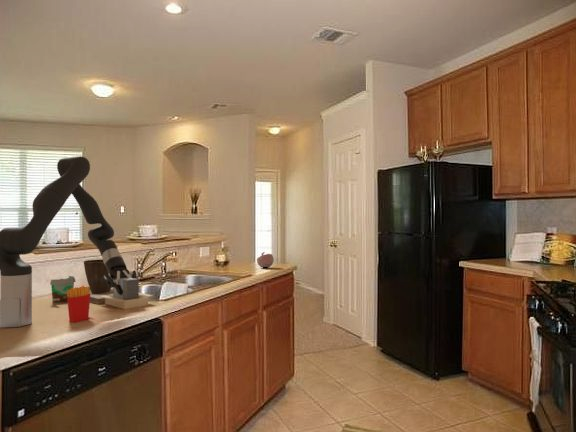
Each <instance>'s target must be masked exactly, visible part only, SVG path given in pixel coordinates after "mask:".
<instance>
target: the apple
mask: <svg viewBox="0 0 576 432" xmlns="http://www.w3.org/2000/svg"><path fill="white" fill-rule="evenodd" d="M274 258H275V257H274V255H273V254H272V253H265V251H263V252H261V255H259V256H258V257H257V258H256V263H257V265H258V266H259V267H260V268H262V267H269V268H270V267H272V266H273V264H274V262H275V261H274V260H275V259H274Z"/></svg>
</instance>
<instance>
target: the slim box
mask: <svg viewBox="0 0 576 432" xmlns="http://www.w3.org/2000/svg"><path fill="white" fill-rule="evenodd" d="M113 281H114V279H113ZM118 281H119V285H120V286H121V288H122V290H123V294H122V295H119V294H118V293H117V290H116V288H114V287H112V288H113V289H112V290H113V291H112V292H113V297H114V298H118V299H122V300H131V299H138V298H139V293H140V292H139V290H140V289H139V287H140V285H139V278H137V279H136V278H120V279H118Z"/></svg>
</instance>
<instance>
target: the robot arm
mask: <svg viewBox="0 0 576 432" xmlns="http://www.w3.org/2000/svg"><path fill="white" fill-rule="evenodd" d="M56 166H57V172H58V174H59V178H56V179H55V180H53V181H52V182H50V183H48V184H47V185H46V186H44V187H43V188H42V189H41V190H40V191H39V192H38V194H37V195H36V197H34V199H33V201H32V213H33V215H32V218H31V220H29V222H27V224H26V225H25V226H23V227H4V228H3V229H1V230H0V328H20V327H22V326H23V327H24V326H27V325H30V324H32V323H33V267H32V265H31V264H30V263H27V262H25V261H24V260H23V259H21V255H29V254H30V253H33V252H34V250H36V248H37V246H38V245H39V243H40V242H41V240H42V239H43V236H44V234H45V233H46V231H47V229H48V227H49V226H50V224H52V221H53V220H54V218H56V215H57V214H58V213H59V212H60V210H61V209H62V208H63V206H64V205H65V203H66V202H67V200H68V199H69V197H70V196H71V195H72V196H73V198H74V199H75V200H76V203H77V204H78V206H79V208H80V210H81V212H82V215H83V217H84V219H85V221H86V224H88V225H96V224H98V226H96V227H92V228H90V229H89V230H88V232H87V237H88V239H89V241H91V243H92V244H93V245H94V246H95V247H96V248H97V249H98V251H99V253H100V255H101V258H102V259H103V262H104V264H105V266H106V269H107V271H108V273H109V274H107V273H105V275H104V277H103V279H104V280H105V281H106V283H107V284H108V285H109V287H110V288H111V289H112V288H113V287H114V288H116V290H117V293H118V294H119V295H122V294H123V290H122V288H121V286H120V285H119V281H118V279H120V278H136V279H138V276H137V272H136V270H133V271H130V270H128V268H127V264H126V262H125V260H124V258H123V256H122V254H121V252H120V251H119V249H118V247H117V245H116V243H115V241H114V240H112V238H113V237H114V235H115V231H114V229H113V227H112V226H111V224H110V223H109V222H108V221H107V220H106V218H105V217H104V215H103V213H102V211H101V208H100V206H99V203H98V202H97V201H96V199H95V198H94V197H93V196H92V195H91V194H89V192H88V191H86V189H84V188H83V186H81V183H82V182H83V181H84V180H85V179H86V178H87V177H88V175H89V174H90V171H91V164H90V161H89V159H88V158H87V157H85V156H82V155H75V156H70V157H63V158H59V160H58V162H57V164H56ZM111 278H113V279H114V281H113V280H112V279H111Z"/></svg>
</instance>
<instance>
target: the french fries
mask: <svg viewBox="0 0 576 432" xmlns="http://www.w3.org/2000/svg"><path fill="white" fill-rule="evenodd" d="M89 291H90V287H89V285H88V286H85V285H82V286H78V287H76V286H74V288H71V289H70V290H69V289H68V290H67V291H66V292H67V295H68V297H67V308H68V309H67V311H68V318H69V320H68V321H69V322H70V323H79V322H83V321H88V319H89V316H90V315H89V314H90V304H91V302H90V295H91V293H89Z"/></svg>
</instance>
